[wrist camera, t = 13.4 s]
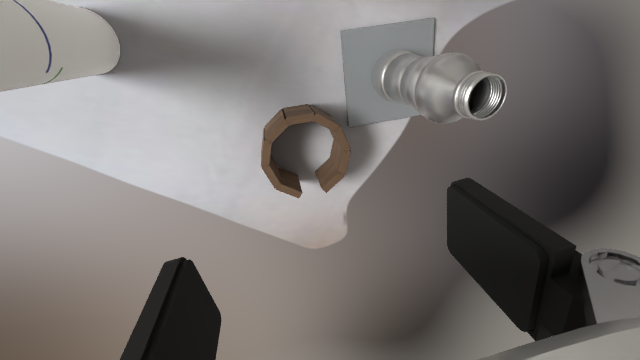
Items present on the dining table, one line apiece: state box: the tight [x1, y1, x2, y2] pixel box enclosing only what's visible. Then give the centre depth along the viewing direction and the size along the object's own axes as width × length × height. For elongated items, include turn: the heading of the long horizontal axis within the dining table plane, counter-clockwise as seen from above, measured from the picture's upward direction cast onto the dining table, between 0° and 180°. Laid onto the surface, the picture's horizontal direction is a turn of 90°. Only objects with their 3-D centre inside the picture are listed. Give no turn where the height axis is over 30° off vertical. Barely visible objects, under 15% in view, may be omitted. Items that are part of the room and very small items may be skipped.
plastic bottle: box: [372, 49, 507, 123], centre depth 32 cm, size 6×7×20 cm
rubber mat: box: [340, 18, 434, 127], centre depth 41 cm, size 13×13×1 cm
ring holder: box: [261, 104, 351, 198], centre depth 41 cm, size 12×12×6 cm
